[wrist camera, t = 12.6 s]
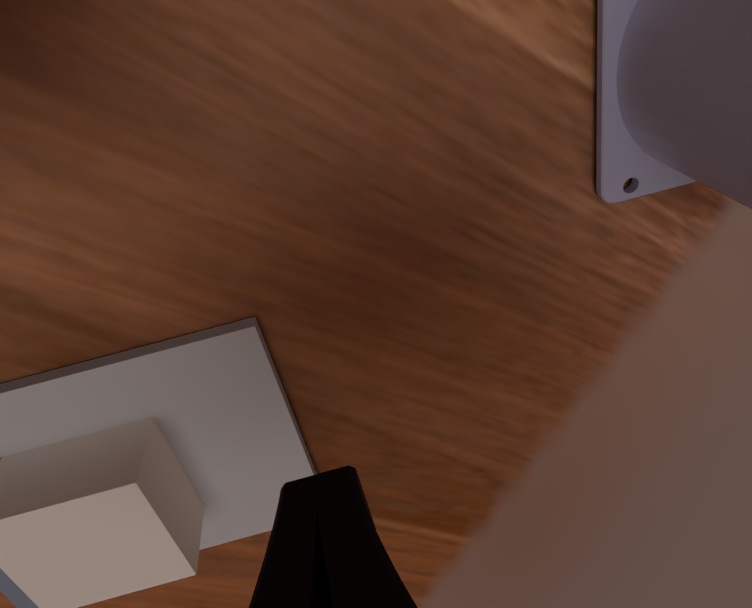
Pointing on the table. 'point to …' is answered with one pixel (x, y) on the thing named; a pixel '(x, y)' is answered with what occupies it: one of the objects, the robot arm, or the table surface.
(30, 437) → the mat
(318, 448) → the table surface
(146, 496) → the beige rectangular block
